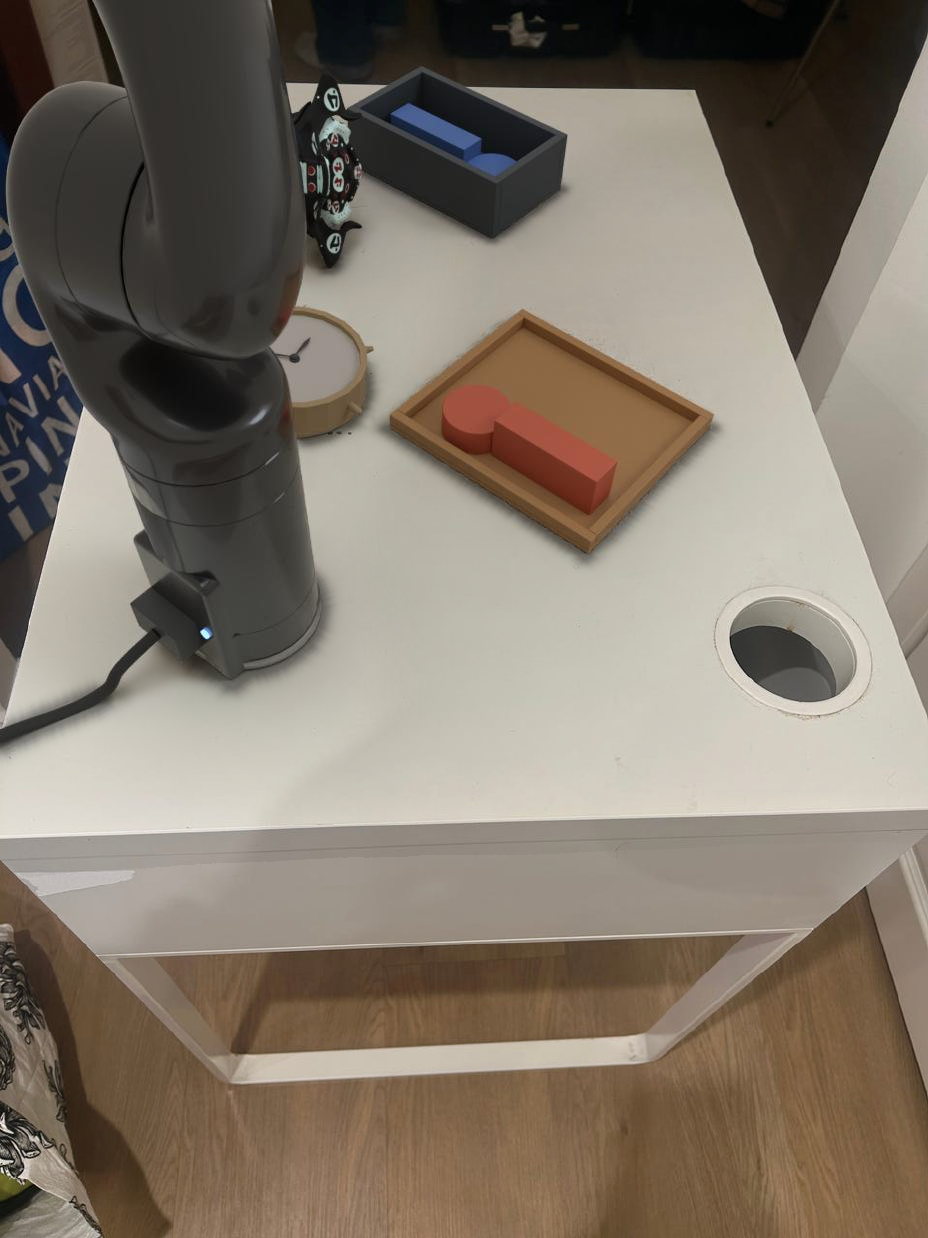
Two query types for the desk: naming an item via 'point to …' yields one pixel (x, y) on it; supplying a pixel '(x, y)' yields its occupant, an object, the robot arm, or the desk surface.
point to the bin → (446, 176)
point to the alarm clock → (322, 370)
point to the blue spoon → (448, 138)
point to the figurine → (327, 167)
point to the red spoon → (527, 445)
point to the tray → (561, 420)
